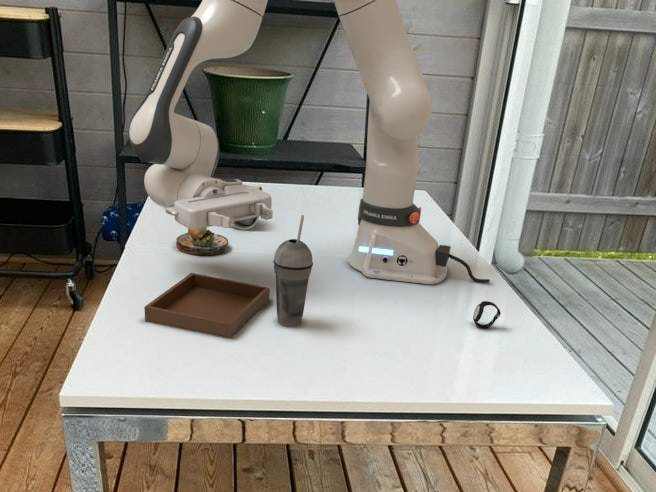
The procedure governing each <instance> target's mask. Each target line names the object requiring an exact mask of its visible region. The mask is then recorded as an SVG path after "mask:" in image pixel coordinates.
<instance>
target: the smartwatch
mask: <svg viewBox="0 0 656 492" xmlns="http://www.w3.org/2000/svg"><path fill="white" fill-rule="evenodd" d="M487 306H491V307H494V308H495V309H496V313H495V315H494V316H493V317H492V319H491V320H490V321H489V322H488V323H486V324H481V323H479V321H480V320H481V318H482V316H483V314H484V310H485V307H487ZM501 313H502V312H501V309H500V308H499V307H498V306H497V304H495V303H494V302H492V301H489V300H483V301H481V302H480V303H479V304H477V305H476V306H475V310H474V312H473V316H472V320H473V323H474V324H475V326H476V327H478V328H480V329H483V330H484V329H485V330H486V329H489V328H490V327H492V326H493V325H494V324H495V323H496V321H497V320H498V319H499V317H501Z"/></svg>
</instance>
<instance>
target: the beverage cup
mask: <svg viewBox="0 0 656 492" xmlns="http://www.w3.org/2000/svg"><path fill="white" fill-rule="evenodd" d="M304 219H305V215H303V214H302V215H300V221H299V226H298V231H297V236H296V238H289V239H287V240H285V241H283V242H282V243H281V244H279V245H278V247H277V248H276V250H275V253H274V256H273V259H272V260H273V261H272V264H273V270H274V274H275V298H276V299H275V301H276V315H277V324H278V325H279V326H282V327H285V328H297V327H300V326H301V325H302V320H303V316H304V311H305V304H306V298H307V292H308V285H309V279H310V276H311V273H312V268H313V266H314V262H313V255H312V251H311V249H310V248H309V246H308V245H307V244H306V243H305V242H303V241H302V240H301V236H302V230H303V225H304Z"/></svg>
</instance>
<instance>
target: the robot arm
mask: <svg viewBox="0 0 656 492" xmlns="http://www.w3.org/2000/svg"><path fill="white" fill-rule="evenodd" d="M268 1H269V0H202V1H201V2H200V4H199V6H198V7H197V9H196V10H195V12H194V13H193V14H192V15H190V16H189V17H186V18H184V19H183V20H181V22H179V24H178V26H177V27H176V29H175V31H174V33H173V35H172V36H171V39H170V41H169V43H168V45H167V47H166V49H165V52H164V54H163V56H162V58H161V61H160V63H159V65H158V68H157V69H156V71H155V74H154V76H153V79H152V81H151V83H150V86H149V88H148V90H147V92H146V94H145V96H144V98H143V100H142V101H141V103H140V105H139V106H138V108H137V109H136V110H135V112H134V113H133V115H132V117H131V119H130V121H129V125H128V133H127V134H128V139H129V142H130V145H131V148H132V149H133V151H134V153H135V155H136V156H137V158H138V159H139V160H140V161H142V162H145V163H149V164H152V165H150V166H149V167H148V168H147V170H146V171H145V173H144V178H143V183H144V184H143V185H144V189H145V192H146V194H147V195H148V197H149V198H150V200H151V201H152V202H153V203H154V204H156V205H157V206H159V207H160V208H162V209H163V210H165V214H168V215H170V216H172V217H174V221H175V222H176V223H178V224H179V225H181V226H183V227H185V228H187V229H188V228H189V229H201V228H205V227H207V228H210V227H223V228H225V229H229V228H235V227H234V222H235V221H239V220H244V219H249V218H254V217H259V218H260V219H261V220H265V221H269V220H272V219H273V209H272V204H273V203H272V202H273V201H272V197H271V194H269V192H266V191H264V190H262V191H261V190H259V189H257V188H254V187H251V186H252V185H246V184H243V181H242V180H241V179H237V178H216V177H213V175H214V173H215V171H216V170H217V167H218V162H219V158H220V142H219V138H218V136H217V133H216V131H215V130H214V128H213V127H212V126H210V125H208V124H207V123H204V122H201V121H198V120H195V119H193V118H189V117H186V116H184V115H182V114H179V113H176V112H175V108H176V105H177V104H178V101H179V100H180V97H181V95H182V93H183V90H184V88H185V87H186V83H187V82H188V80H189V77H190V75H191V73H192V72H193V71H194V69H195V68H196V67H197V66H198V65H199V64H201V63H203V62H206V61H209V60H217V59H229V58H234V57H237V56H240V55H241V54H244V53H245V52H247V51H248V50H249V49H250V48H251V47H252V45H253V43H254V42H255V40H256V37H257V36H258V34H259V31H260V27H261V25H262V21H263V18H264V14H265V11H266V9H267V4H268ZM333 3H334V7H335V9H336V13H337V15H338V19H339V21H340V23H341V27H342V29H343V32H344V35H345V37H346V41H347V43H348V46H349V49H350V52H351V55H352V57H353V60H354V62H355V65H356V68H357V71H358V73H359V75H360V78H361V80H362V83H363V86H364V88H365V91H366V93H367V96H368V99H369V103H368V105H369V106H368V120H367V134H366V135H367V136H366V137H367V139H366V140H367V141H366V160H365V161H366V162H365V170H364V180H363V181H364V182H363V188H362V189H363V191H362V198H360V200H359V205H358V213H357V226H358V227H357V232H356V237H355V241H354V245H353V247H352V251H351V254H350V256H349V258H348V264H349V266H351V267H352V268H353V269H355V270H357V271H359V272H360V273H362V274H363V275H364V276H365V277H367V278H370V279H379V280H388V281H398V282H406V283H415V284H423V285H437V284H439V283H441V282H443V281H444V280H445V279H446V277H447V275H448V266H447V264H448V262H449V259H450V260H453V261H455V262H457V263H459V264H461V265H462V266H463V267H464V268H465V269H466V271H467V274H468V277H469V278H470V279H471V280H472V281H473V282H476V283H478V284H479V283H481V284H490V280H491V279H488V278H477V277H476V276H474V275H473V272H472V269H471V267H470V265H469V264H468V263H467V262H466V261H464V260H463V259H461V258H460V257H457V256H456V255H454V254H451V253H450V252H451V249H452V248H451V247H452V246H451V245H444V244H439V243H438V241H437V240H436V239H435V238H434V237H433V235H431V233H429V232H428V230H426V229H425V227H424V226H423V225H422V224H421V223H420V221H421V213H422V207H421V206H419V207H418V206H417V205H416V204H415V203H414V197H415V191H416V185H417V176H418V170H419V138H420V137H419V136H420V135H422V133H423V132H424V131H425V130H426V129H427V128H428V125H429V123H430V121H431V117H432V112H433V111H432V110H433V109H432V107H433V106H432V99H431V96H430V93H429V90H428V87H427V84H426V81H425V78H424V75H423V73H422V70H421V68H420V65H419V61H418V59H417V56H416V54H415V51H414V48H413V46H412V44H411V42H410V38H409V36H408V33H407V30H406V27H405V24H404V21H403V17H402V14H401V10H400V8H399V5H398V1H397V0H333Z"/></svg>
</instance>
